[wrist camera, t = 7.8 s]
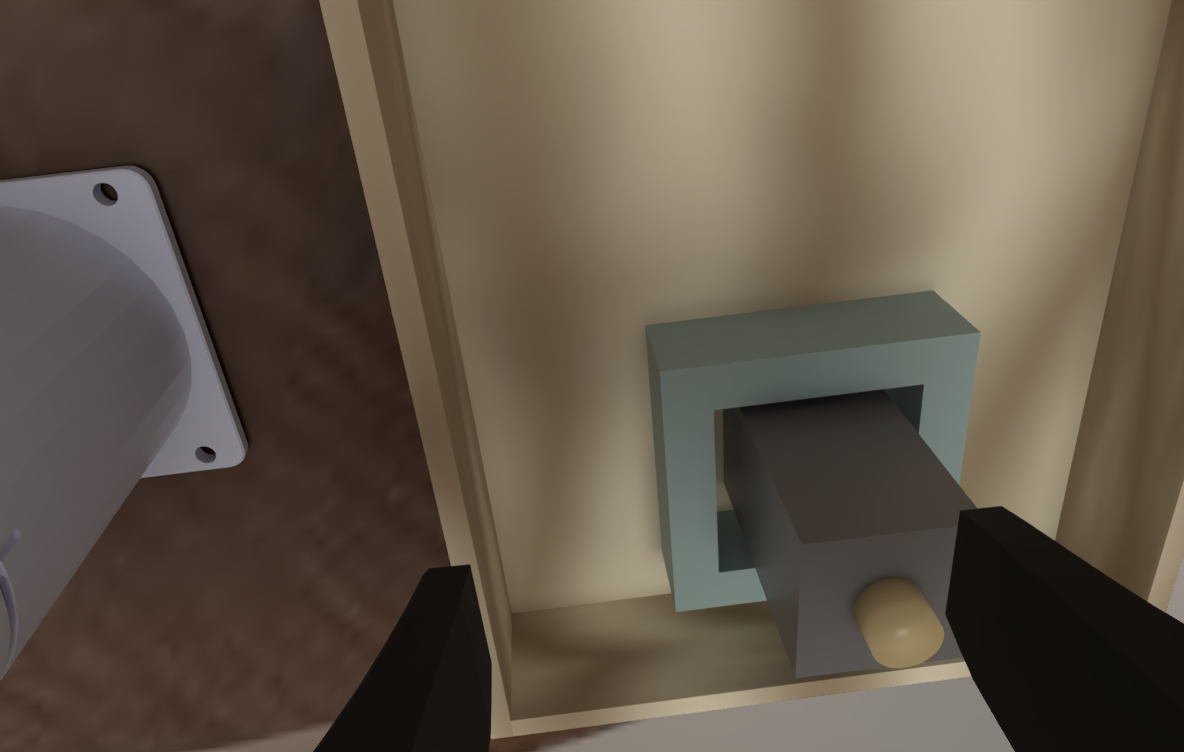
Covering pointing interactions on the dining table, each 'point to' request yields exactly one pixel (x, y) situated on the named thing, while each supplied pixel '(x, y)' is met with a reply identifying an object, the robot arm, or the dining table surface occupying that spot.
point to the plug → (846, 529)
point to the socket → (784, 373)
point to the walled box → (760, 283)
